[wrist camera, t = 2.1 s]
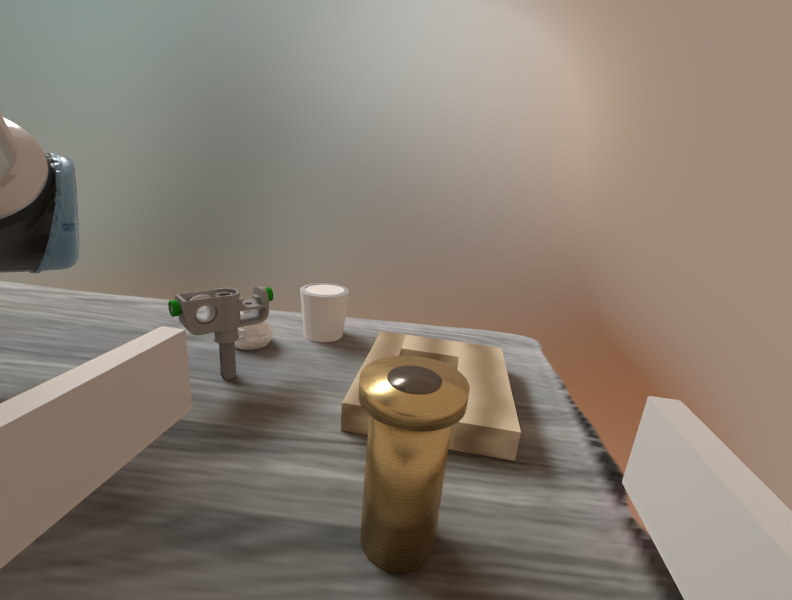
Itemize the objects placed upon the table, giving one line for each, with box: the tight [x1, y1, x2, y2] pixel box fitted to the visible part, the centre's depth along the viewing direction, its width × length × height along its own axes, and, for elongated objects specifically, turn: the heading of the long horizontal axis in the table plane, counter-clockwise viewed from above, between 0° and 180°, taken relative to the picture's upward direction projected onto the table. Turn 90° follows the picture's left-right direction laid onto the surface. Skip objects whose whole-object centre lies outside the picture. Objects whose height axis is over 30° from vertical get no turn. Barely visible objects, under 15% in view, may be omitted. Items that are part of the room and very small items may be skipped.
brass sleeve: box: [358, 355, 470, 573], centre depth 25 cm, size 6×6×12 cm
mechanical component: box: [168, 286, 273, 379], centre depth 43 cm, size 3×10×10 cm, turn 133°
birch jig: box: [341, 331, 521, 461], centre depth 44 cm, size 16×18×3 cm
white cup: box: [300, 283, 349, 342], centre depth 57 cm, size 7×7×7 cm
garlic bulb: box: [235, 309, 273, 350], centre depth 52 cm, size 6×6×6 cm
